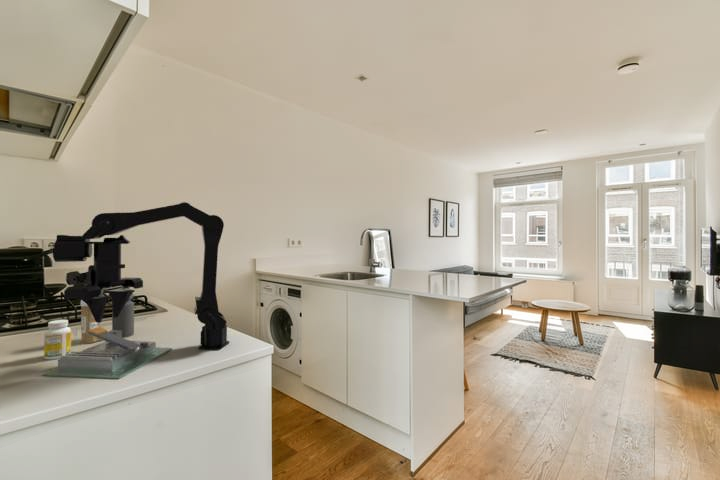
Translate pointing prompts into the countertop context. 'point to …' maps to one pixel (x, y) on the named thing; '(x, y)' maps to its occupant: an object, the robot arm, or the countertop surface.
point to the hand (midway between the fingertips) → (107, 319)
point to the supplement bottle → (57, 339)
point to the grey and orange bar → (114, 339)
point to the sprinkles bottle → (87, 324)
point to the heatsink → (106, 360)
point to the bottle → (125, 319)
